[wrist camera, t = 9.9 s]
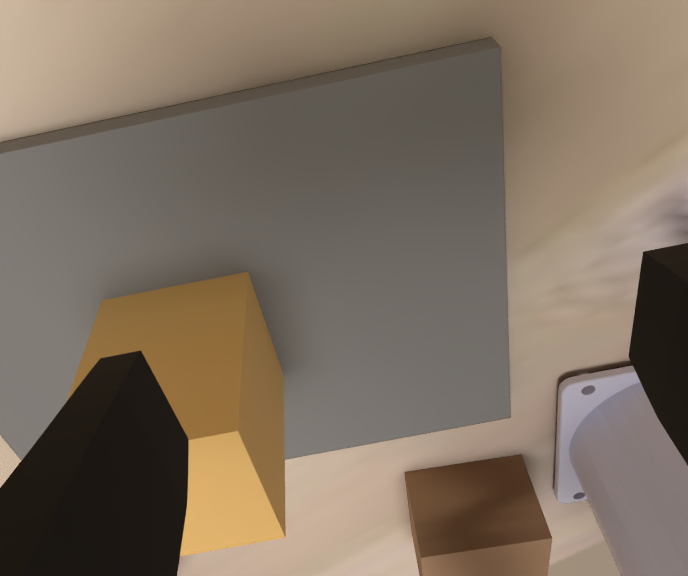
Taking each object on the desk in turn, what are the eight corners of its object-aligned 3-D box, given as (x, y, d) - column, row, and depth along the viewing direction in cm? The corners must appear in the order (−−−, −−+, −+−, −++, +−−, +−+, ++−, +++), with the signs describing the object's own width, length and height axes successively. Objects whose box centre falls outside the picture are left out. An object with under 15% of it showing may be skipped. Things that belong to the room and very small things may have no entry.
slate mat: (491, 37, 16) (500, 47, 15) (504, 401, 24) (510, 417, 24) (-180, 181, 17) (-198, 196, 16) (61, 484, 25) (56, 502, 25)
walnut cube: (519, 451, 27) (552, 538, 24) (515, 516, 30) (543, 601, 27) (404, 469, 27) (420, 557, 24) (411, 532, 30) (427, 618, 27)
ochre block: (247, 271, 19) (237, 431, 14) (283, 375, 21) (285, 537, 17) (102, 300, 19) (43, 467, 14) (155, 399, 22) (122, 566, 17)
